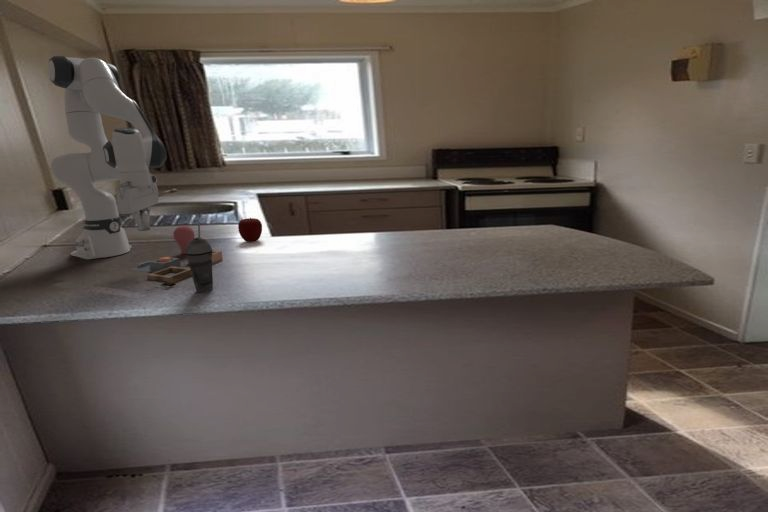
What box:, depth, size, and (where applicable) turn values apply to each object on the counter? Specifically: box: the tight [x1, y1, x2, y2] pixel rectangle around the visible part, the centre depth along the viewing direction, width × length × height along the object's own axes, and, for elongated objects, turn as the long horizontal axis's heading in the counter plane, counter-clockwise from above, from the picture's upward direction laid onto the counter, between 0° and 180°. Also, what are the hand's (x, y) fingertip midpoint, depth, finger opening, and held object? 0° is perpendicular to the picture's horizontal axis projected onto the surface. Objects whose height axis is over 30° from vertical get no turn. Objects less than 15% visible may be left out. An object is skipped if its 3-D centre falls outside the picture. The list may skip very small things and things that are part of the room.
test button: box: [158, 256, 171, 262], centre depth 152 cm, size 4×4×2 cm
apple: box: [237, 217, 263, 243], centre depth 190 cm, size 10×10×10 cm
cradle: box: [130, 256, 186, 273], centre depth 153 cm, size 14×10×4 cm
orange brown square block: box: [186, 250, 224, 266], centre depth 158 cm, size 8×8×4 cm
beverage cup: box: [184, 222, 214, 294], centre depth 131 cm, size 7×7×20 cm
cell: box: [136, 210, 151, 232], centre depth 151 cm, size 4×4×7 cm
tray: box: [146, 266, 192, 287], centre depth 143 cm, size 9×9×3 cm
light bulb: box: [173, 225, 195, 255], centre depth 169 cm, size 7×7×12 cm
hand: (143, 222), depth 151 cm, fingers closed on cell, 4 cm apart
